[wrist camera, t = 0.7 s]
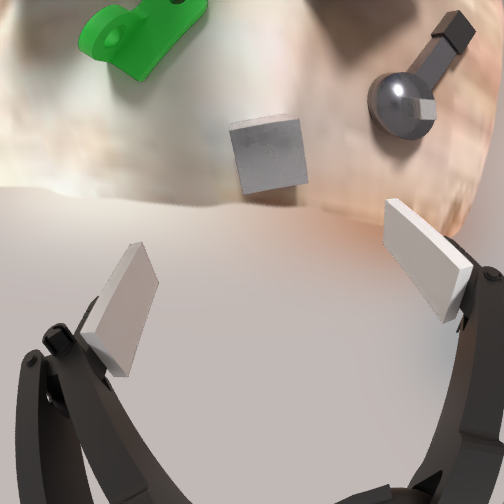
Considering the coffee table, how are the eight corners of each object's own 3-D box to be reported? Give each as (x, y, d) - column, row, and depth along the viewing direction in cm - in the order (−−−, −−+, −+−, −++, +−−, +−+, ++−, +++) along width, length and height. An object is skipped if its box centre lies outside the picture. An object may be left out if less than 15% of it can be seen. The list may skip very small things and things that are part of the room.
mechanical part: (143, 81, 24) (112, 78, 17) (106, 56, 21) (68, 49, 14) (220, 0, 19) (214, -30, 12) (178, -24, 17) (161, -54, 10)
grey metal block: (231, 123, 26) (229, 130, 20) (285, 113, 26) (299, 118, 20) (242, 173, 29) (243, 194, 23) (293, 164, 29) (308, 183, 23)
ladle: (354, 105, 26) (382, 109, 20) (437, 1, 17) (468, -7, 11) (399, 148, 28) (430, 162, 22) (472, 43, 19) (504, 43, 14)
